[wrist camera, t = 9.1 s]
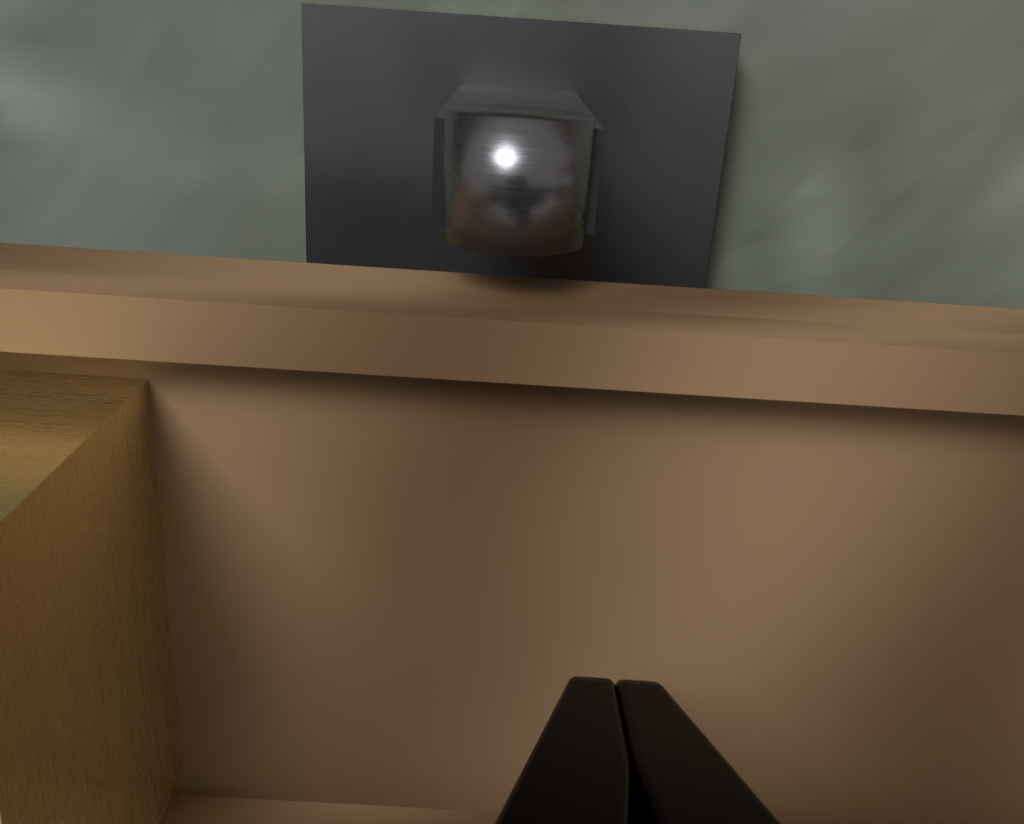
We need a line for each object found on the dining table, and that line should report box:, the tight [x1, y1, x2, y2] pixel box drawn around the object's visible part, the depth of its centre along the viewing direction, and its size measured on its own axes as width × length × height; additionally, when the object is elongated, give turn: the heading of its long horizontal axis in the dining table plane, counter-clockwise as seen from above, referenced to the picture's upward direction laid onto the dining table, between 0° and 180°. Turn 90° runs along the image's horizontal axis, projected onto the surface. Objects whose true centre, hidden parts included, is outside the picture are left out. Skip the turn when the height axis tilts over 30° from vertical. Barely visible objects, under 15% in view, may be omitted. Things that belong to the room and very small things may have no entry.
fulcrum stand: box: [302, 3, 741, 288], centre depth 13 cm, size 6×12×6 cm, turn 176°
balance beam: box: [0, 243, 1024, 824], centre depth 10 cm, size 30×7×4 cm, turn 86°
